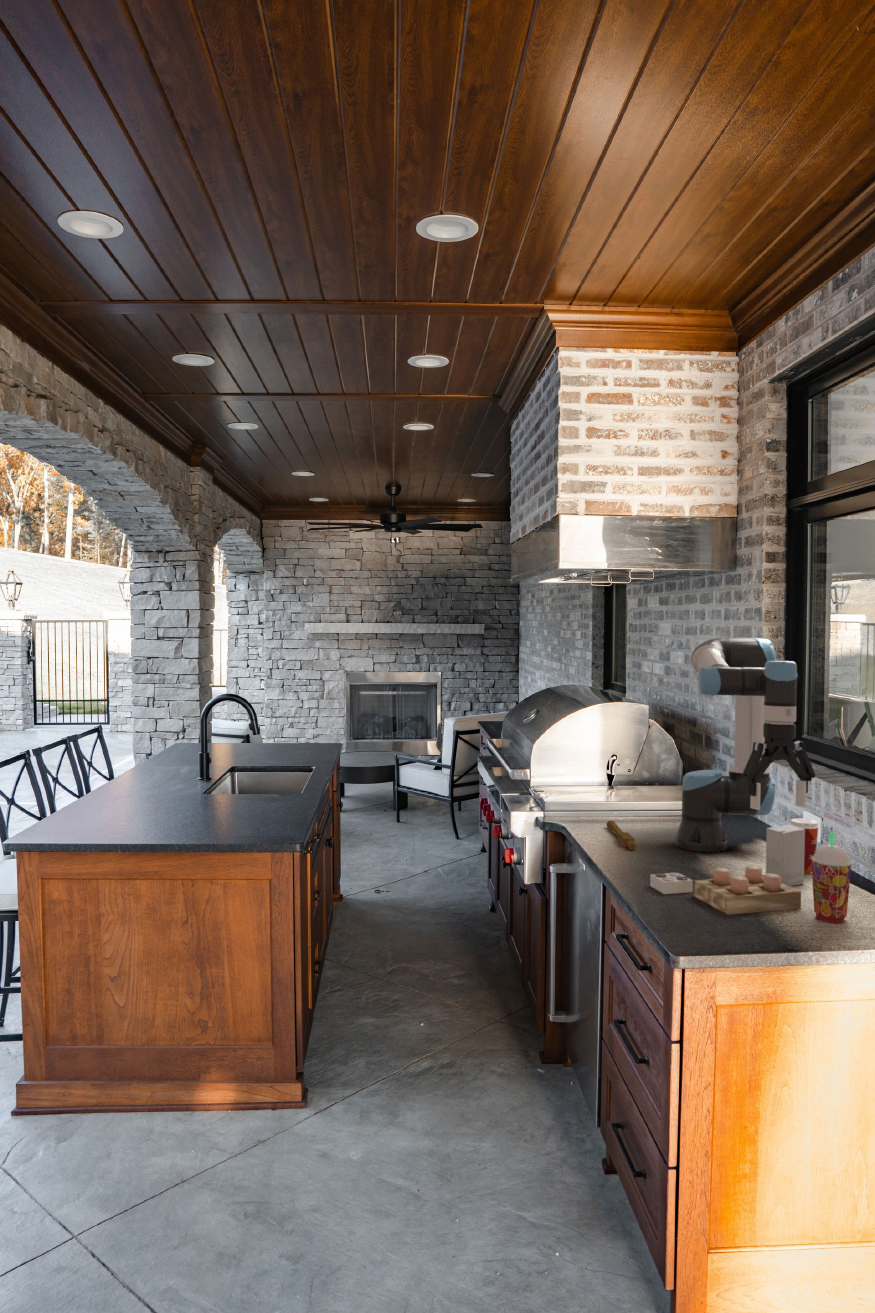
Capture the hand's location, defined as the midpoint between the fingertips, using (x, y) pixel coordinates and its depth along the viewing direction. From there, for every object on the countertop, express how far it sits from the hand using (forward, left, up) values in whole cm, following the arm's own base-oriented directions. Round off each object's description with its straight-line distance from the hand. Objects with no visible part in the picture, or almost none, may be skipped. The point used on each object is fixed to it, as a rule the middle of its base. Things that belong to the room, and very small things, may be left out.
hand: (778, 807), depth 204 cm
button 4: (+6, -6, -19) cm, 20 cm away
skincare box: (-9, +9, -23) cm, 26 cm away
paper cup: (-18, +22, -23) cm, 36 cm away
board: (+2, -10, -22) cm, 25 cm away
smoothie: (+17, +1, -23) cm, 28 cm away
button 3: (-1, -6, -19) cm, 20 cm away
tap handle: (-62, -10, -23) cm, 67 cm away
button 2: (+6, -15, -19) cm, 24 cm away
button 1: (-1, -15, -19) cm, 24 cm away
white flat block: (-11, -23, -22) cm, 34 cm away
